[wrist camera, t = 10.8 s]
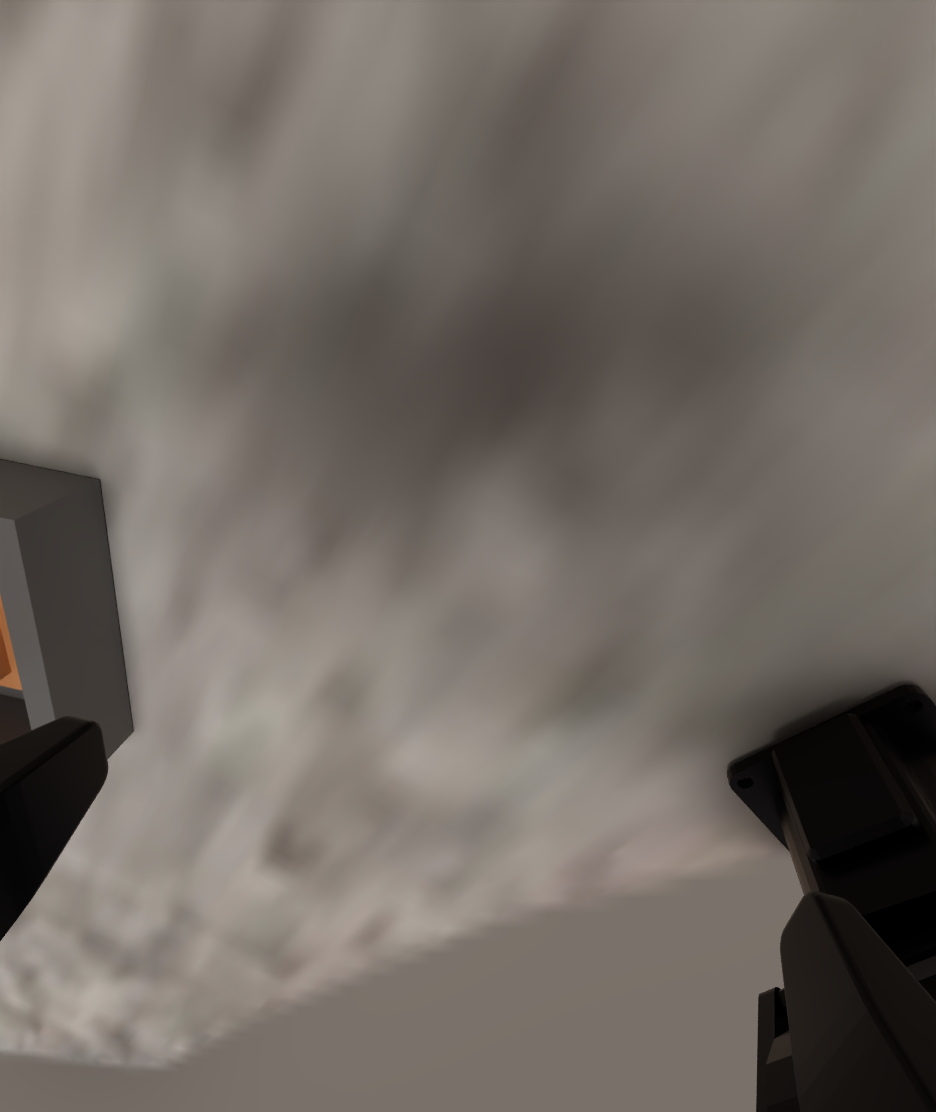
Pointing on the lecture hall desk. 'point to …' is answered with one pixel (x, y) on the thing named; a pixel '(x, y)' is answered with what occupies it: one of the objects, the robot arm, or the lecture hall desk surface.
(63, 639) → the gray square tray
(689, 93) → the lecture hall desk surface
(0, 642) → the orange post with base
